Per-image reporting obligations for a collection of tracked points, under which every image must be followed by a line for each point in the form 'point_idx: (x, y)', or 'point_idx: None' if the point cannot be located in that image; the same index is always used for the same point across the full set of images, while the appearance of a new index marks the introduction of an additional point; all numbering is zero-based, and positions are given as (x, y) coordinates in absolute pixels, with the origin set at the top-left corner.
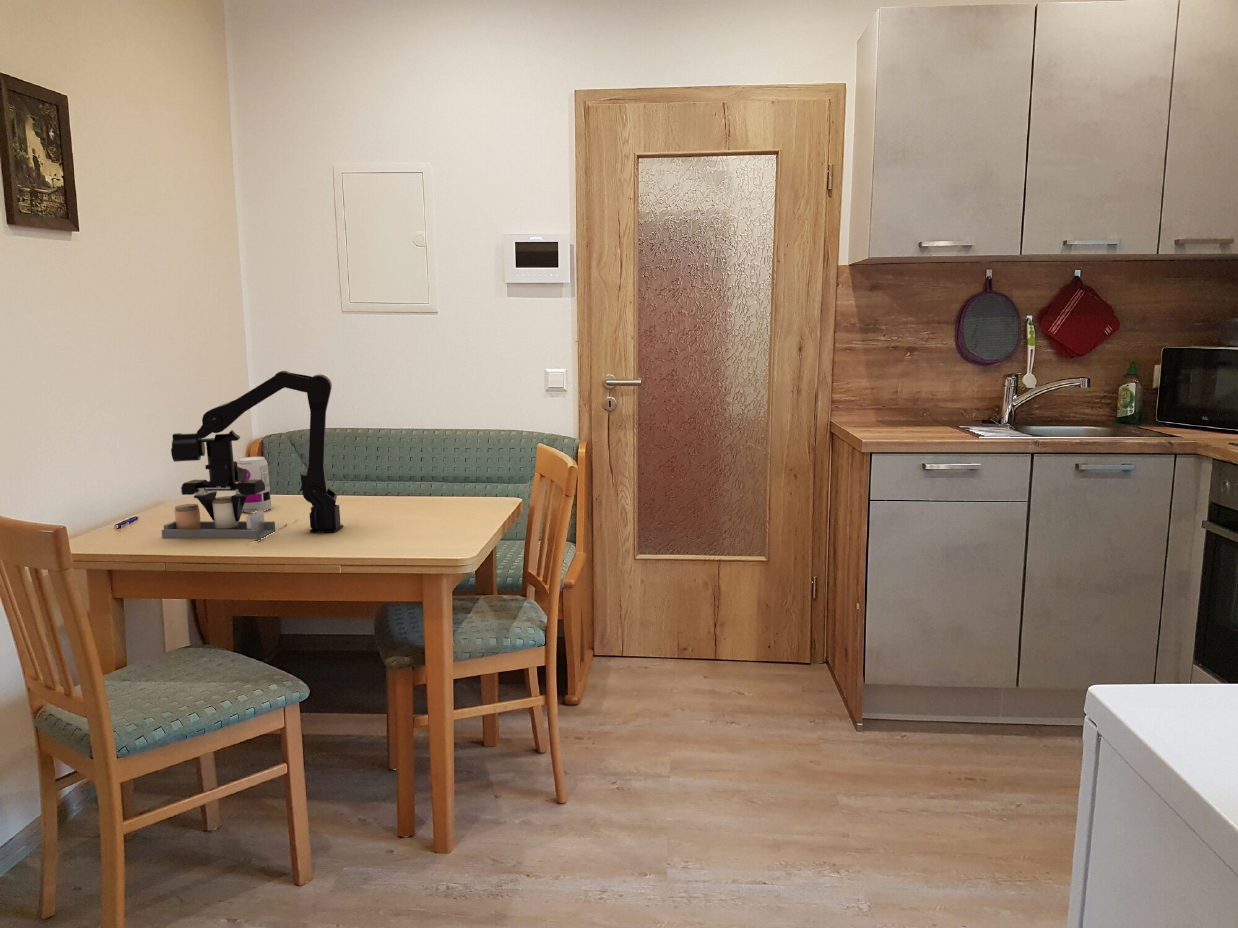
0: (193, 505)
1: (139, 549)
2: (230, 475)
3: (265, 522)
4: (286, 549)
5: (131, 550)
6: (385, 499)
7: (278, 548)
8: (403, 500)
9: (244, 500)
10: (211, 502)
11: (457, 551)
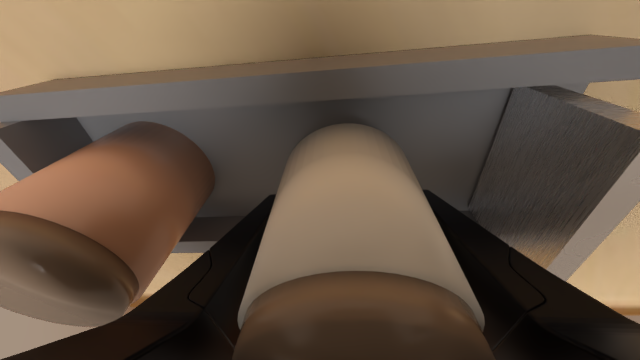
0: (57, 276)
1: (169, 271)
2: None
3: (587, 82)
4: (617, 264)
5: (159, 277)
6: None
7: (589, 257)
8: None
9: (595, 322)
10: (235, 336)
11: None
